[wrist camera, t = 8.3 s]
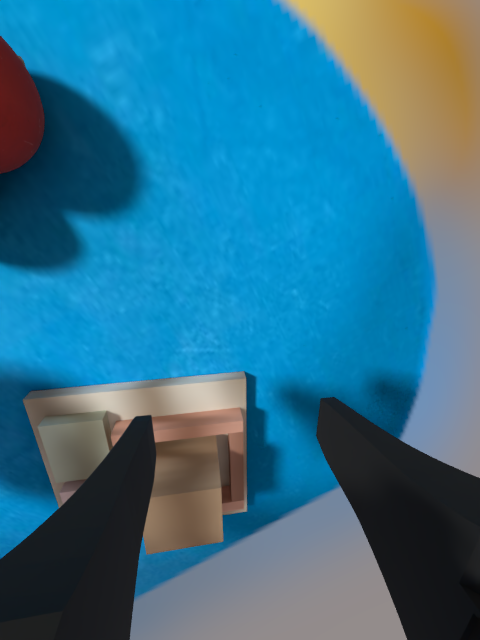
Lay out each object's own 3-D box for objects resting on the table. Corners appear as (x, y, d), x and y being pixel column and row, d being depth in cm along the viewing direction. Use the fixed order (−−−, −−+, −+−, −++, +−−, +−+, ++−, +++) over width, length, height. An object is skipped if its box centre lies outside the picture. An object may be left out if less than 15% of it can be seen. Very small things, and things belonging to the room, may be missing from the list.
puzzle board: (74, 527, 25) (62, 560, 22) (30, 391, 20) (9, 414, 17) (245, 501, 27) (250, 528, 24) (243, 371, 22) (250, 390, 19)
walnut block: (155, 486, 23) (146, 554, 18) (148, 437, 21) (136, 499, 17) (217, 478, 24) (223, 541, 19) (215, 430, 22) (221, 487, 17)
